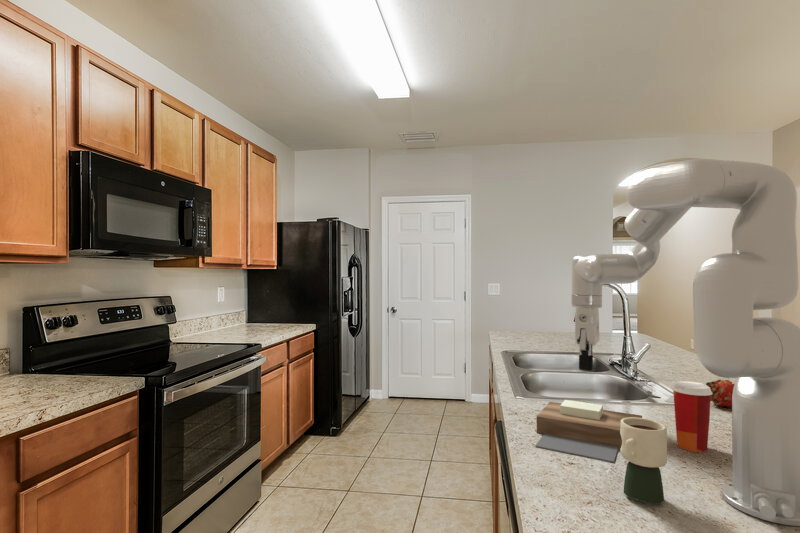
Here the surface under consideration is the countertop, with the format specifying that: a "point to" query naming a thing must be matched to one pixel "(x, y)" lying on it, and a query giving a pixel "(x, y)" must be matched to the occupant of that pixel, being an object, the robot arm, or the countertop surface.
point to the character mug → (644, 458)
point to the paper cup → (692, 415)
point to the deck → (582, 425)
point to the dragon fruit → (721, 392)
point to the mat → (578, 447)
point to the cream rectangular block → (581, 409)
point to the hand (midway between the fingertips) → (585, 369)
